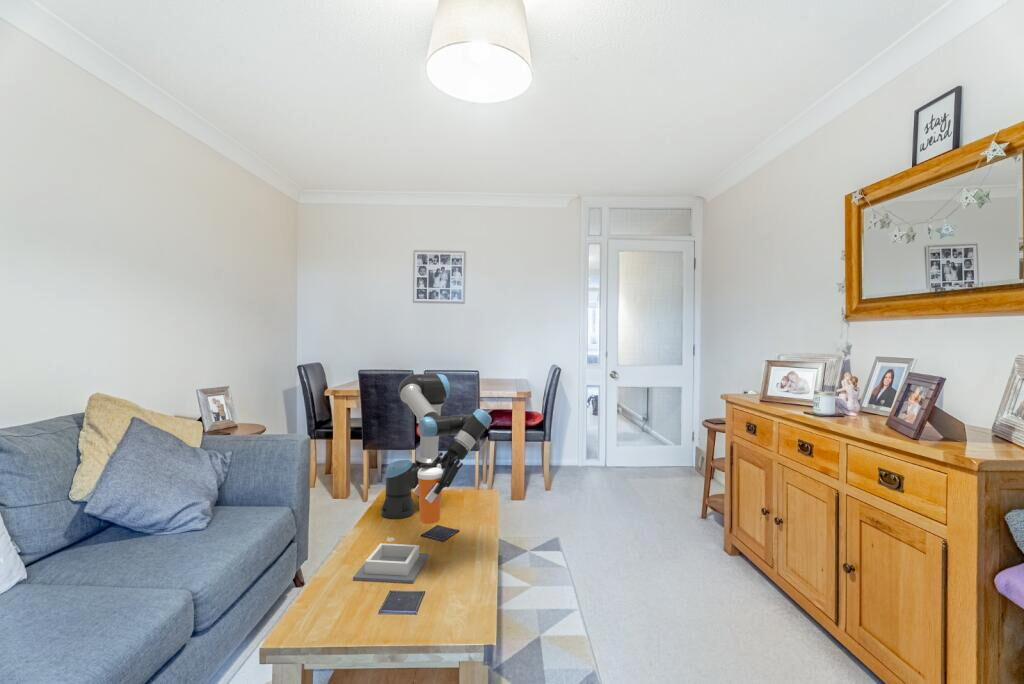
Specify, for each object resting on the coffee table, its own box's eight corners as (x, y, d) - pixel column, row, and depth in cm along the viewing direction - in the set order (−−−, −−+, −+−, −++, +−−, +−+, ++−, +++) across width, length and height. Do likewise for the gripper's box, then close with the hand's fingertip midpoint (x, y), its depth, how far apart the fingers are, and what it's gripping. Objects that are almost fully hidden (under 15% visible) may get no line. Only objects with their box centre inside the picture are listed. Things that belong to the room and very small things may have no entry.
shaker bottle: (412, 520, 163) (412, 464, 163) (432, 513, 170) (432, 459, 170) (428, 527, 157) (428, 468, 157) (448, 519, 164) (448, 463, 164)
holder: (375, 553, 171) (375, 539, 171) (428, 556, 169) (428, 542, 169) (353, 580, 151) (353, 564, 151) (413, 583, 149) (413, 567, 149)
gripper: (483, 457, 164) (443, 512, 155) (452, 446, 182) (415, 495, 172) (470, 444, 161) (429, 499, 151) (440, 434, 178) (401, 483, 169)
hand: (421, 497), depth 162 cm, fingers closed on shaker bottle, 9 cm apart
